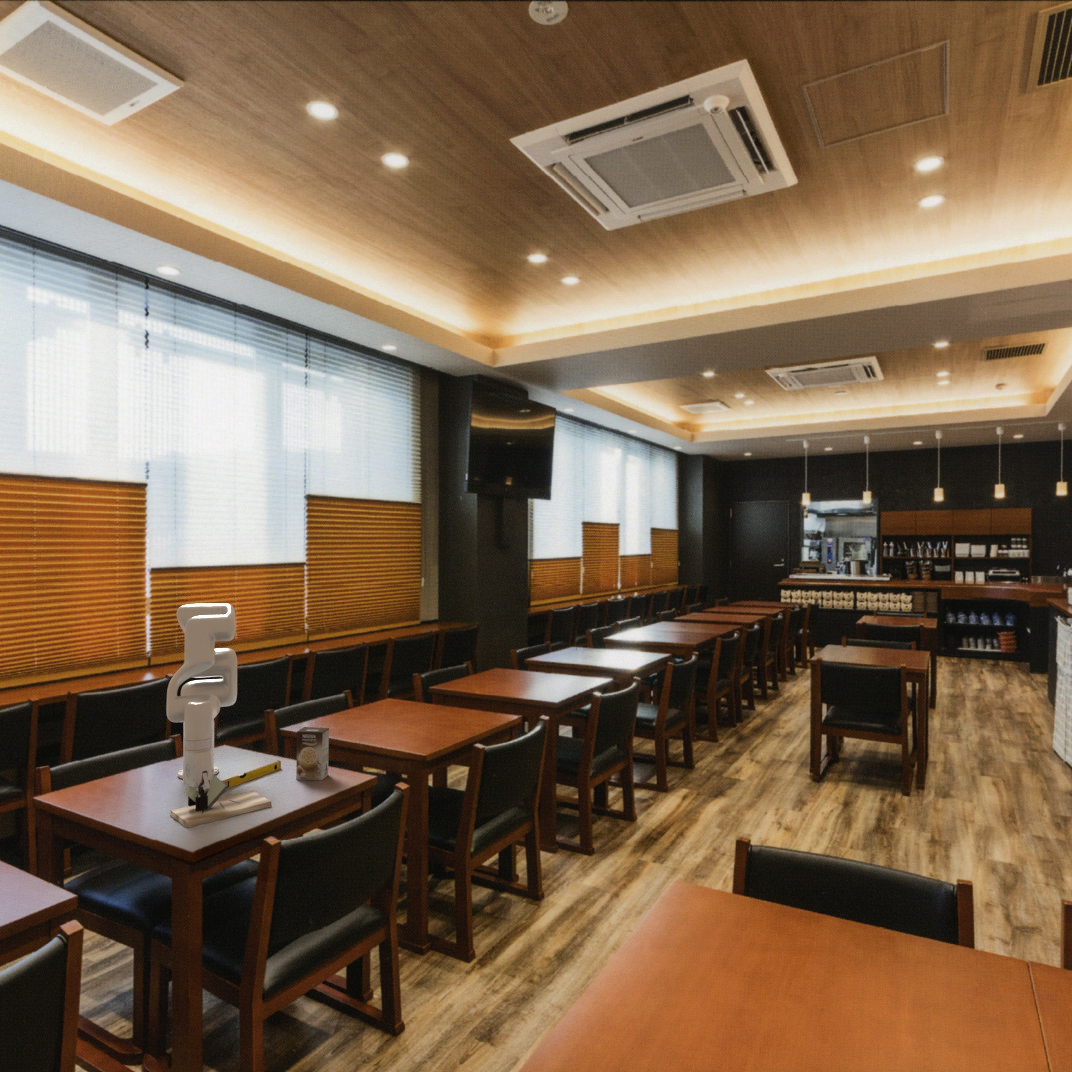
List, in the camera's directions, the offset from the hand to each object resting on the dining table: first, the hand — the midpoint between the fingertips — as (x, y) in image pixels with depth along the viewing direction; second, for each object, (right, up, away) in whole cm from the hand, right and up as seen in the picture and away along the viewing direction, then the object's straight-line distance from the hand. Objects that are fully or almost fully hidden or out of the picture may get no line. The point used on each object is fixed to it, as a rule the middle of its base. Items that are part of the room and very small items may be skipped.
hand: (197, 807), depth 210 cm
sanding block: (+3, +2, +3) cm, 5 cm away
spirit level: (+1, -4, +30) cm, 30 cm away
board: (+5, -3, +4) cm, 7 cm away
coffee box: (+22, -3, +35) cm, 42 cm away
